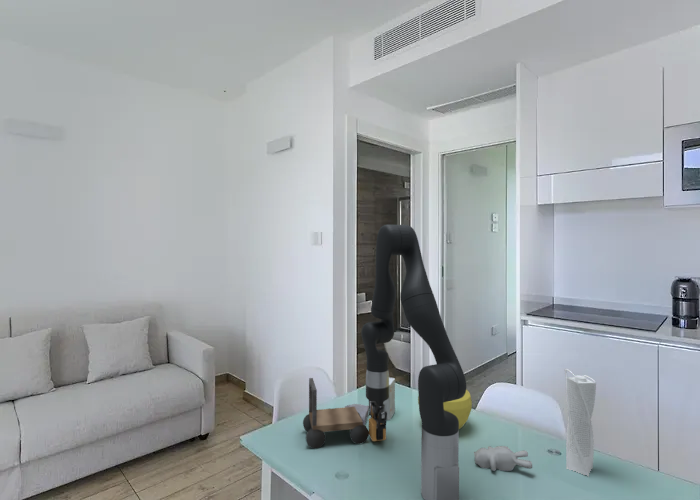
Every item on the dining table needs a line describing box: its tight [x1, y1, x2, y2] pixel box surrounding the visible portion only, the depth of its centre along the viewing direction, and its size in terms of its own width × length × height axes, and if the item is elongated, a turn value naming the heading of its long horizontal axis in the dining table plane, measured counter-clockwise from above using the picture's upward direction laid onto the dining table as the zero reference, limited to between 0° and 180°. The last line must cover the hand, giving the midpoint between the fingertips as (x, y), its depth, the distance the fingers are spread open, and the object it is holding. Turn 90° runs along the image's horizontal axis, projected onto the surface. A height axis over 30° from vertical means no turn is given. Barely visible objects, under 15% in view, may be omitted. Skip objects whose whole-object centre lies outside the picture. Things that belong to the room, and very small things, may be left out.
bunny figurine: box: [473, 445, 533, 472], centre depth 113 cm, size 10×5×15 cm
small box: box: [383, 377, 396, 421], centre depth 147 cm, size 8×6×13 cm
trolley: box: [302, 377, 370, 449], centre depth 129 cm, size 20×12×18 cm, turn 102°
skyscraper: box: [564, 368, 597, 478], centre depth 112 cm, size 8×8×28 cm
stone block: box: [343, 403, 369, 426], centre depth 144 cm, size 12×5×10 cm
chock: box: [368, 418, 387, 442], centre depth 127 cm, size 5×4×5 cm
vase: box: [417, 388, 473, 430], centre depth 137 cm, size 18×18×30 cm
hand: (377, 435), depth 127 cm, fingers closed on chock, 5 cm apart
